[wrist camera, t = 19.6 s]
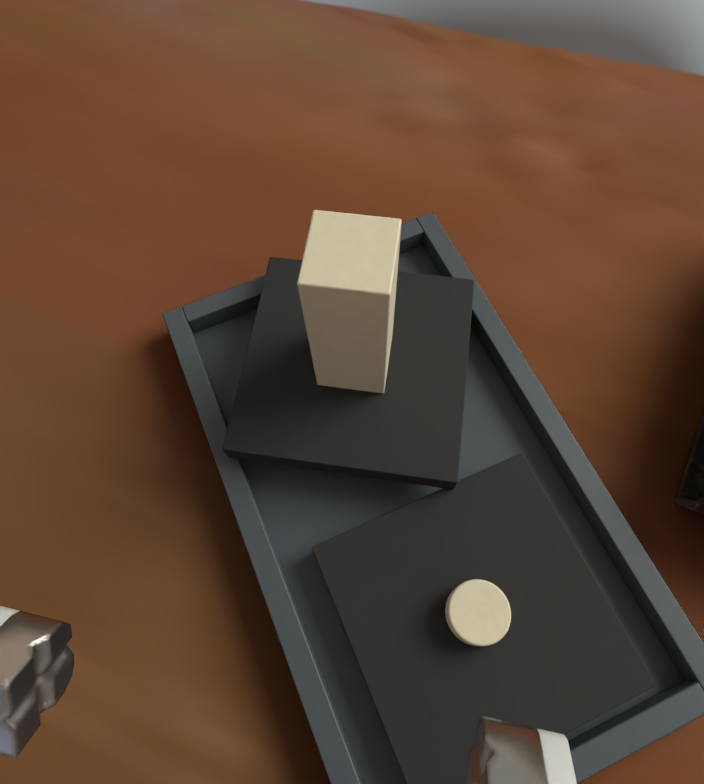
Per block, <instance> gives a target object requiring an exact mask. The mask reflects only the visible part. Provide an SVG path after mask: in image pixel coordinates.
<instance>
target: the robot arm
mask: <svg viewBox="0 0 704 784" xmlns="http://www.w3.org/2000/svg"><path fill="white" fill-rule="evenodd" d="M71 638H72V632H71V625H70V624H68V623H65V622H62V621H58V620H54V619H50V618H46V617H43V616H39V615H35V614H31V613H27V612H23V611H19V610H15V609H10V608H6V607H2V606H0V754H2V755H7V756H11V757H16V758H17V756H18V755H19V754H20V752H21V751H22V749H23V748H24V747H25V745H26V744H27V743H28V741H29V740H30V739H31V737H32V736H33V735H34V733H35V732H36V731H37V729H38V728H39V726H40V713H41V712H43V711H45V710H47V709H49V708H50V707H52V706H54V705H56V703H57V702H58V700H59V699H60V698H61V696H62V695H63V693H64V692H65V690H66V688H67V686H68V683H69V681H70V679H71V676H72V672H73V667H74V654H73V653H72V651H71V650H70V649H69V647H68V646H67V645H66V644H67V643H68V642H69V640H70V639H71ZM465 784H577V781H576V776H575V772H574V767H573V762H572V757H571V753H570V748H569V743H568V740H567V738H566V737H565V735H564V734H559V733H555V732H550V731H546V730H542V729H535V728H534V727H530V726H526V725H521V724H516V723H512V722H507V721H502V720H497V719H493V718H488V717H483V716H482V717H481V718H480V720H479V722H478V725H477V728H476V744H475V745H473V746H471V749H470V753H469V757H468V761H467V768H466V776H465Z"/></svg>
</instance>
